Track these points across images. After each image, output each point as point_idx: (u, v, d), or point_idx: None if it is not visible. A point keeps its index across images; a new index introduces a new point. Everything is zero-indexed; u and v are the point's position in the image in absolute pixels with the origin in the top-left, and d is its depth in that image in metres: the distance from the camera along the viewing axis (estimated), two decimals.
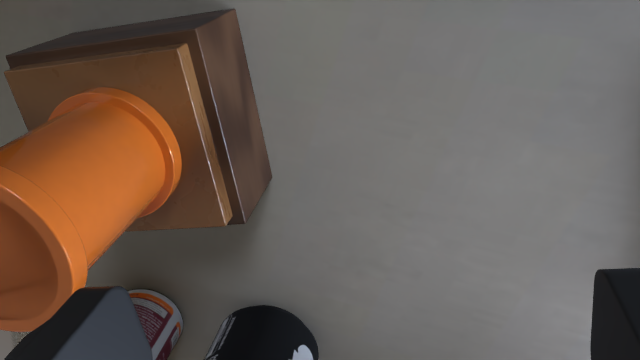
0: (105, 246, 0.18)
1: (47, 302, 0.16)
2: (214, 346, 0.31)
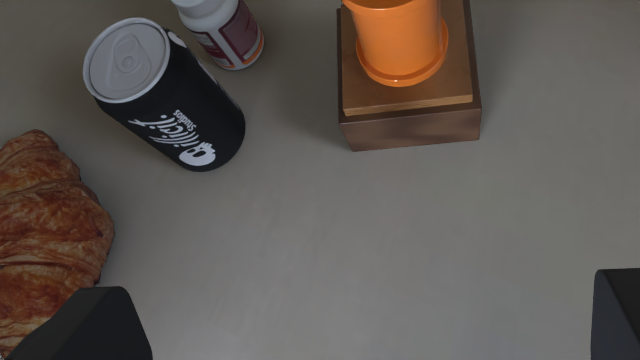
0: (368, 29, 0.29)
1: None
2: (224, 90, 0.39)
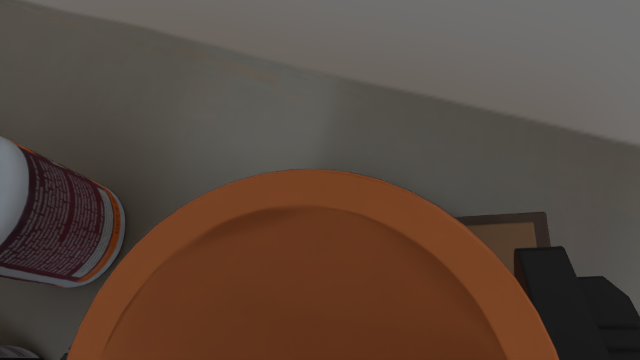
0: None
1: None
2: None
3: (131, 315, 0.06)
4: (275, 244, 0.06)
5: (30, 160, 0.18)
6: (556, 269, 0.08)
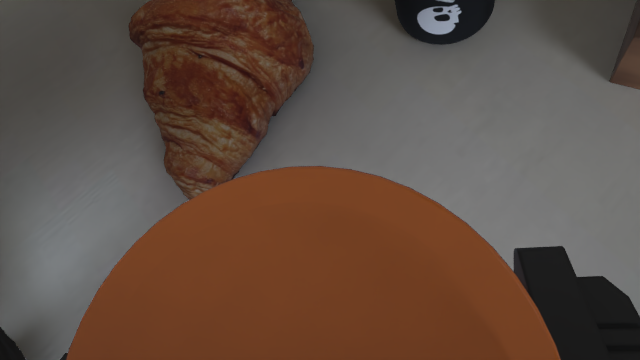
0: None
1: None
2: None
3: (131, 313, 0.06)
4: (276, 241, 0.06)
5: None
6: (556, 269, 0.08)
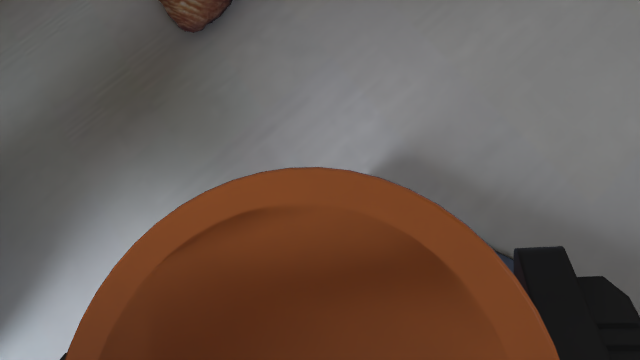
0: None
1: None
2: None
3: (130, 315, 0.06)
4: (275, 242, 0.06)
5: None
6: (556, 269, 0.08)
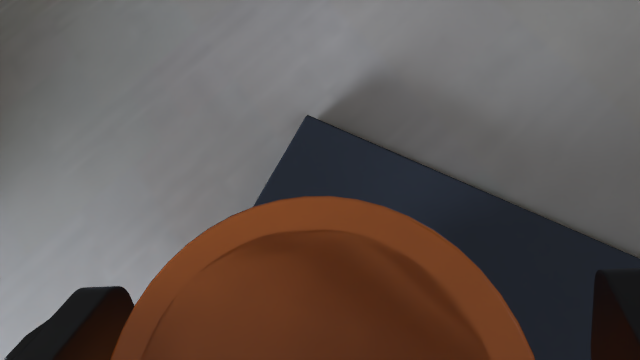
0: None
1: None
2: None
3: (166, 324, 0.07)
4: (292, 262, 0.07)
5: None
6: None
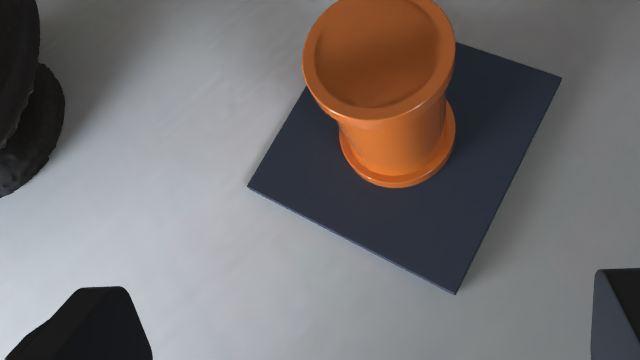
0: (352, 132, 0.22)
1: (331, 91, 0.20)
2: None
3: (324, 31, 0.21)
4: (370, 7, 0.21)
5: None
6: None
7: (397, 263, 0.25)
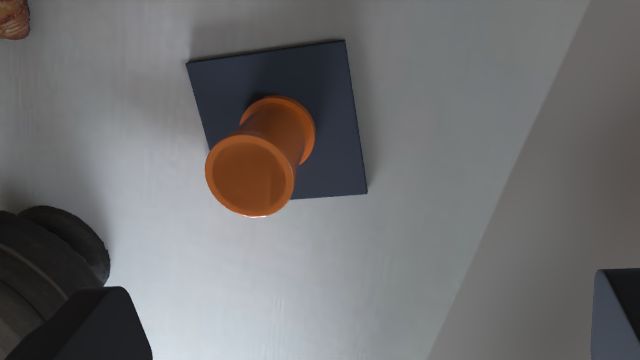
0: None
1: (245, 208, 0.34)
2: None
3: (215, 180, 0.34)
4: (226, 155, 0.33)
5: None
6: None
7: (330, 196, 0.42)
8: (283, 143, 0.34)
